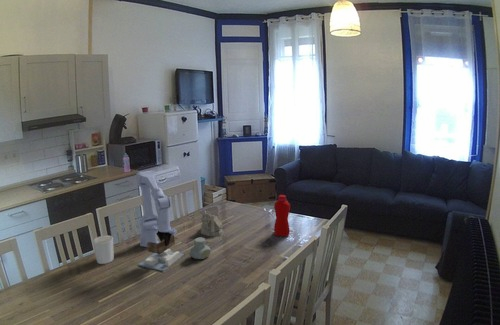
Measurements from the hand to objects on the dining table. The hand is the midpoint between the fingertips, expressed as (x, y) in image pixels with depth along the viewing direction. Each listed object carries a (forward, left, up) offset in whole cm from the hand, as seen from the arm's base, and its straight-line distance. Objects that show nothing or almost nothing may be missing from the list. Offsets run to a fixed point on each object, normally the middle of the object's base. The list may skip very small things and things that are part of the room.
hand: (165, 244), depth 176 cm
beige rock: (+4, +44, -10) cm, 45 cm away
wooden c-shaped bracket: (-3, +1, -2) cm, 4 cm away
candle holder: (-31, -11, -10) cm, 34 cm away
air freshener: (+14, +11, -10) cm, 20 cm away
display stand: (-3, 0, -9) cm, 10 cm away
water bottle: (+47, +55, -10) cm, 73 cm away
